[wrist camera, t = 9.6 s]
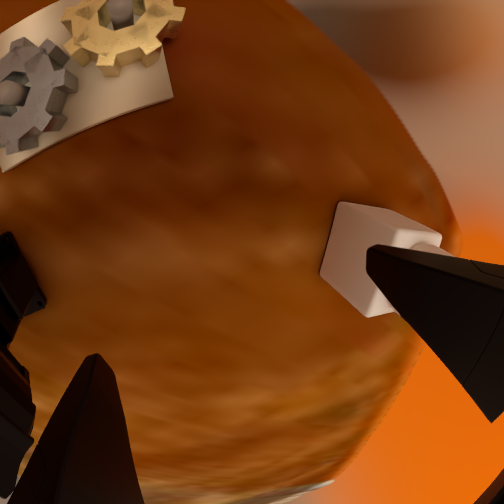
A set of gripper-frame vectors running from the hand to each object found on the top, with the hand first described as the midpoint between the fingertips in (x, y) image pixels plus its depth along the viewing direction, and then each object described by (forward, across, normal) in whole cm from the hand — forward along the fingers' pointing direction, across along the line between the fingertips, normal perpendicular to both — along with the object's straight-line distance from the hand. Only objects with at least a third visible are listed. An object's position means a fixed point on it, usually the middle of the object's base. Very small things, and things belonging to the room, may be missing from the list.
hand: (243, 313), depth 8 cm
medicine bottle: (+12, -14, +8) cm, 20 cm away
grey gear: (+11, +8, -10) cm, 17 cm away
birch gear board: (+12, +5, -12) cm, 18 cm away
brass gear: (+11, +1, -12) cm, 17 cm away
